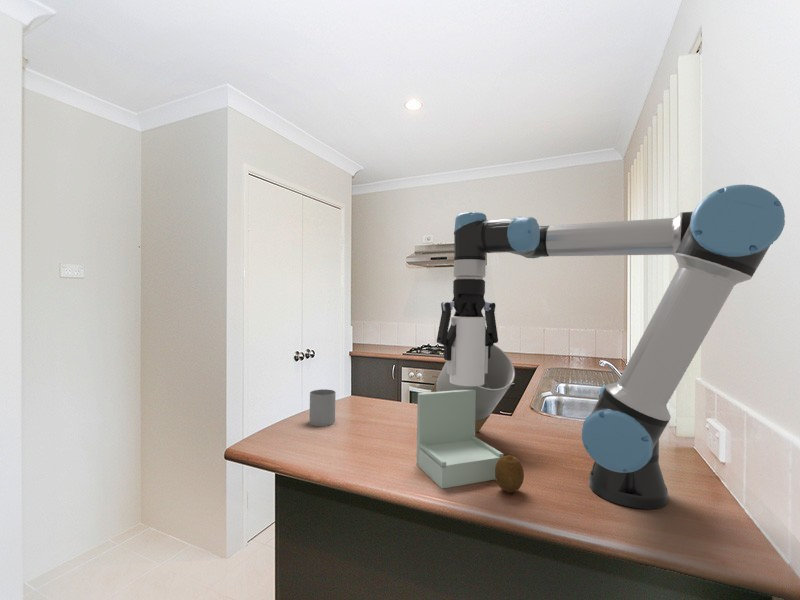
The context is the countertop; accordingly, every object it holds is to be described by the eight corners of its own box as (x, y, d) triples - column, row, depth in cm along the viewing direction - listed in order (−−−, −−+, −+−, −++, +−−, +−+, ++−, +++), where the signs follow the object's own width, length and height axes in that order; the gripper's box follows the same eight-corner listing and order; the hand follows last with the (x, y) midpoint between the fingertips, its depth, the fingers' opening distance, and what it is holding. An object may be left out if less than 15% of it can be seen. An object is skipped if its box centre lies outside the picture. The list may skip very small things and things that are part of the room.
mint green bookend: (502, 478, 97) (504, 401, 97) (441, 488, 91) (443, 407, 91) (471, 456, 110) (472, 389, 110) (416, 464, 104) (417, 393, 104)
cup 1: (308, 419, 140) (309, 390, 140) (332, 417, 143) (333, 388, 143) (310, 427, 132) (311, 395, 132) (336, 425, 135) (337, 394, 135)
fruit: (488, 491, 91) (489, 454, 90) (504, 482, 95) (504, 447, 95) (514, 501, 86) (515, 463, 86) (529, 491, 90) (529, 455, 90)
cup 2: (484, 387, 94) (485, 317, 94) (448, 385, 96) (449, 316, 96) (484, 380, 102) (485, 315, 102) (450, 378, 104) (452, 314, 104)
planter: (439, 380, 142) (466, 328, 125) (488, 410, 137) (522, 360, 121) (414, 418, 128) (441, 364, 111) (468, 453, 123) (503, 402, 107)
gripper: (497, 280, 106) (495, 368, 106) (422, 277, 99) (420, 372, 99) (515, 279, 99) (513, 373, 99) (436, 276, 92) (434, 378, 92)
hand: (467, 373), depth 99 cm, fingers closed on cup 2, 8 cm apart
